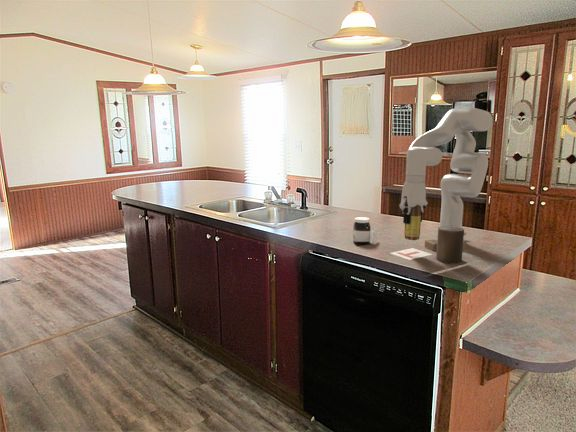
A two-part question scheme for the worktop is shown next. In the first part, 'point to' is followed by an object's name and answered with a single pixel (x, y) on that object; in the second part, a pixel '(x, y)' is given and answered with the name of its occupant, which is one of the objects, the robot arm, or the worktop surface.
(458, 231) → the brown cylindrical pedestal
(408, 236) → the sauce bottle
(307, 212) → the worktop surface
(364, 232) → the spread jar
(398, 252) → the board
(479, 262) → the worktop surface
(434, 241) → the walnut block
